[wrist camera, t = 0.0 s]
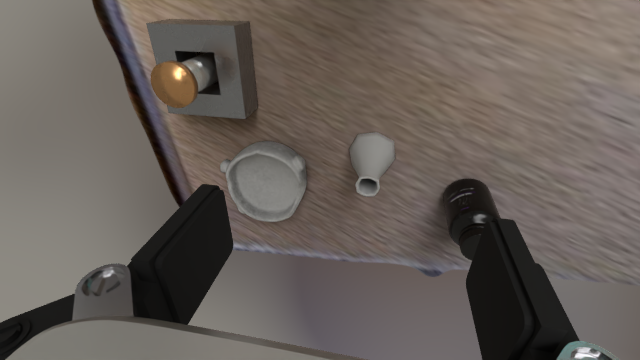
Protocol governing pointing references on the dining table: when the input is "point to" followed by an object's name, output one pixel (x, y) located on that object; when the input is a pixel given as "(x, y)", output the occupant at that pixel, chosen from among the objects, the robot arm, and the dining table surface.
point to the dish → (266, 180)
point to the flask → (371, 160)
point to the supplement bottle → (468, 213)
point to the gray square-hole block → (230, 55)
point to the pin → (183, 79)
